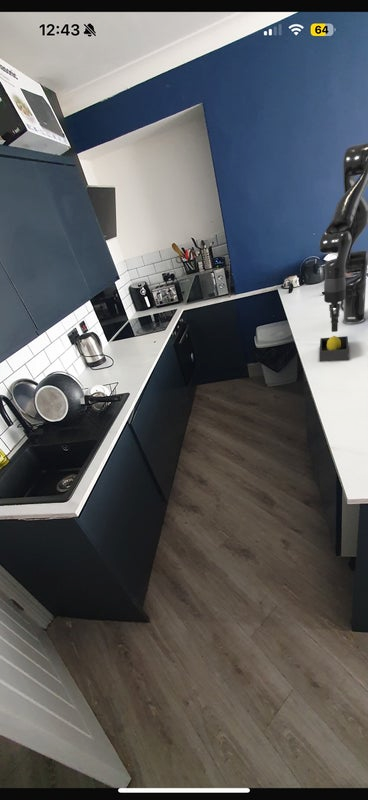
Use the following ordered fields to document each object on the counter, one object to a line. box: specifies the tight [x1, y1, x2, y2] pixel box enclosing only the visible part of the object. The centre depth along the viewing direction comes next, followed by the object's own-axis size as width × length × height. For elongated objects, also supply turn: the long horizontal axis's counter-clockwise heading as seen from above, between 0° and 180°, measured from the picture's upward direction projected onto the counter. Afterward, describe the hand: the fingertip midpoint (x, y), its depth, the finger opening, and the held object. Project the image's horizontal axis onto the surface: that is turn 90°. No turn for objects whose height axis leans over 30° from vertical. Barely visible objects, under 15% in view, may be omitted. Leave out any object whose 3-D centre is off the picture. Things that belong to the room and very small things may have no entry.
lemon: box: [327, 335, 341, 350], centre depth 133 cm, size 6×6×8 cm
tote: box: [319, 335, 350, 362], centre depth 134 cm, size 13×11×5 cm
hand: (334, 327), depth 129 cm, fingers open, 8 cm apart
